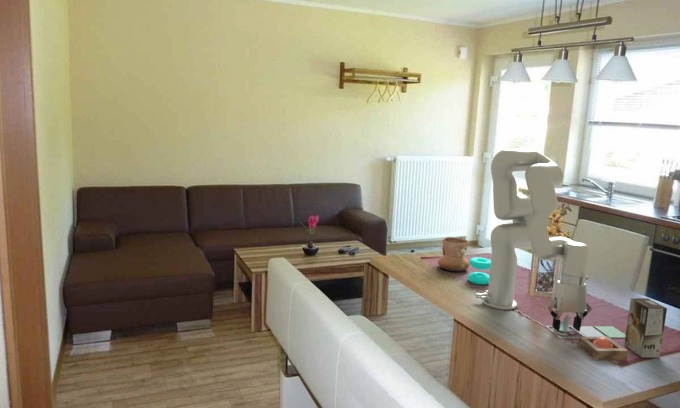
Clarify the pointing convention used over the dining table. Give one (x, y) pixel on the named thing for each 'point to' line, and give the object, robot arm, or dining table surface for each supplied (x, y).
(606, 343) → the popper button
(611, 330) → the pad
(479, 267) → the donuts
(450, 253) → the ceramic jug
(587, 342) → the box
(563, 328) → the pacifier
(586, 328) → the mid pad
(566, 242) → the robot arm
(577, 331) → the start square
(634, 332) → the coffee box
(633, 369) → the dining table surface
